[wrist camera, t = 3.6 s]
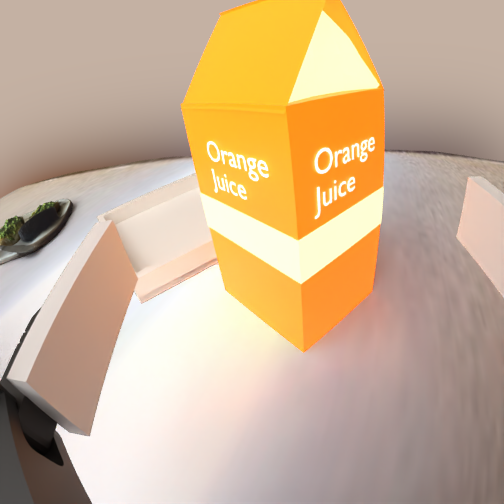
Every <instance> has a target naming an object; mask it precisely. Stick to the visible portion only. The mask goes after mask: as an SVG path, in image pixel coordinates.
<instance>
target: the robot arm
mask: <svg viewBox="0 0 504 504" xmlns="http://www.w3.org/2000/svg"><path fill="white" fill-rule="evenodd" d="M456 238H457V239H458V240H459V241H460V242H461V244H462V245H463V246H464V247H465V248H466V250H467V251H468V252H469V253H470V254H471V256H472V257H473V258H474V259H475V261H476V262H477V263H478V264H479V266H480V267H481V268H482V270H483V271H484V272H485V274H486V275H487V276H488V277H489V279H490V280H491V281H492V283H493V284H494V286H495V287H496V288H497V290H498V291H499V293H500V294H501V295H502V297H503V298H504V193H503V192H501V191H500V190H499V189H498V188H496V187H495V186H494V185H492V184H491V183H490V182H489V181H487V180H486V179H485V178H483V177H482V176H478V177H468V181H467V187H466V193H465V199H464V204H463V209H462V214H461V219H460V224H459V228H458V232H457V236H456ZM137 281H138V278H137V275H136V273H135V271H134V269H133V267H132V264H131V262H130V260H129V257H128V255H127V253H126V250H125V248H124V246H123V243H122V241H121V239H120V236H119V234H118V231H117V229H116V226H115V224H114V221H113V220H108V221H104V222H99V223H95V225H94V226H93V227H92V229H91V230H90V232H89V233H88V234H87V236H86V237H85V239H84V240H83V242H82V243H81V245H80V246H79V248H78V249H77V251H76V252H75V254H74V255H73V257H72V258H71V260H70V261H69V263H68V264H67V266H66V267H65V269H64V271H63V272H62V274H61V275H60V277H59V279H58V280H57V282H56V284H55V285H54V287H53V289H52V290H51V292H50V294H49V295H48V297H47V299H46V300H45V302H44V304H43V306H42V307H41V308H40V309H39V310H38V311H37V312H36V313H35V315H34V316H33V317H32V318H31V320H30V322H29V324H28V326H27V328H26V329H25V331H26V332H25V333H23V335H22V337H21V339H20V343H18V345H17V347H16V349H15V351H14V353H13V355H12V357H11V360H10V362H9V364H8V366H7V368H6V370H5V373H4V375H3V377H2V379H1V381H0V504H92V503H91V501H90V499H89V497H88V495H87V493H86V491H85V489H84V487H83V485H82V483H81V481H80V479H79V477H78V475H77V473H76V471H75V469H74V467H73V464H72V462H71V460H70V458H69V455H68V453H67V451H66V448H65V446H64V443H63V441H62V438H61V437H60V435H59V434H58V432H56V431H55V429H56V425H57V423H58V424H59V425H60V426H61V427H63V428H64V429H65V430H67V431H68V432H70V433H75V434H80V435H85V436H90V433H91V429H92V425H93V421H94V417H95V413H96V409H97V405H98V401H99V398H100V394H101V390H102V387H103V383H104V380H105V376H106V373H107V370H108V366H109V363H110V360H111V356H112V353H113V350H114V347H115V344H116V341H117V338H118V335H119V332H120V329H121V326H122V323H123V320H124V317H125V314H126V311H127V308H128V306H129V303H130V300H131V297H132V295H133V292H134V289H135V287H136V284H137Z"/></svg>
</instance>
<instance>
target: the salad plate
mask: <svg viewBox="0 0 504 504" xmlns="http://www.w3.org/2000/svg"><path fill="white" fill-rule="evenodd" d="M72 205H73V203H72V202H71V201H70V200H69V199H61V200H58V201H55V202H52V201H51V202H47V203H44V204H43V205H40V206H39V207H38V208H37V210H34V211H32V212H29V213H27V214H25V215H22V216H20V217H18V216H15V217H14V218H11V219H8V220H6V223H5V225H4V226H3V227H1V229H0V264H2V263H5V262H8V261H10V260H13V259H16V258H20V257H23V256H25V255H28V254H31V253H33V252H35V251H37V250H38V249H40V248H41V247H43V246H44V245H46V244H47V243H48V242H50V241H51V240H52V239H53V238H54V237H55V236H56V235H57V234H58V233H59V232H60V231H61V229H62V228H63V226H64V225H65V223H66V221H67V220H68V218H69V216H70V214H71V210H72Z"/></svg>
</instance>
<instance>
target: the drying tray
mask: <svg viewBox="0 0 504 504" xmlns="http://www.w3.org/2000/svg"><path fill="white" fill-rule="evenodd" d="M200 193H201V192H200V187H199V183H198V179H197V175H196V173H194V174H192V175H189V176H187V177H185V178H182V179H180V180H177V181H175V182H172V183H170V184H168V185H165V186H163V187H161V188H158V189H156V190H154V191H151V192H149V193H147V194H144V195H142V196H140V197H138V198H136V199H133V200H131V201H129V202H127V203H125V204H122V205H120V206H118V207H116V208H114V209H112V210H110V211H108V212H106V213H103V214H101V215H99V216H97V219H98V222H104V221H108V220H113V221H114V224H115V226H116V229H117V231H118V234H119V236H120V239H121V241H122V243H123V246H124V248H125V250H126V253H127V255H128V257H129V260H130V262H131V264H132V267H133V269H134V271H135V273H136V275H137V278H138V281H137V284H136V287H135V289H134V292H135V294H136V296H137V297H138V299H139V301H140V302H141V304H142V303H143V302H145V301H147V300H149V299H151V298H153V297H155V296H156V295H158V294H160V293H162V292H164V291H166V290H167V289H169V288H171V287H173V286H175V285H177V284H179V283H180V282H182V281H184V280H186V279H188V278H190V277H192V276H194V275H195V274H197V273H199V272H201V271H203V270H205V269H207V268H208V267H210V266H212V265H214V264H216V263H218V260H217V256H216V252H215V248H214V244H213V240H212V236H211V232H210V228H209V226H208V223H207V219H206V215H205V211H204V207H203V203H202V199H201V195H200Z"/></svg>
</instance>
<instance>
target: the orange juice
mask: <svg viewBox="0 0 504 504" xmlns="http://www.w3.org/2000/svg"><path fill="white" fill-rule="evenodd" d="M220 15H221V17H220V18H219V20H218V23H217V25H216V27H215V29H214V31H213V33H212V35H211V38H210V40H209V42H208V44H207V46H206V49H205V51H204V53H203V56H202V58H201V60H200V63H199V65H198V67H197V69H196V72H195V74H194V77H193V79H192V82H191V84H190V87H189V89H188V92H187V94H186V97H185V99H184V102H183V103H182V104H181V109H182V112H183V117H184V122H185V126H186V130H187V135H188V140H189V144H190V149H191V153H192V157H193V162H194V166H195V170H196V175H197V179H198V183H199V187H200V192H201V193H200V195H201V199H202V203H203V207H204V211H205V215H206V219H207V223H208V226H209V228H210V232H211V236H212V240H213V244H214V248H215V252H216V256H217V260H218V263H219V267H220V271H221V275H222V279H223V282H224V286H225V290H226V291H227V292H228V293H230V294H231V295H232V296H233V297H235V298H236V299H237V300H238V301H239V302H241V303H242V304H243V305H244V306H246V307H247V308H248V309H249V310H250V311H252V312H253V313H254V314H255V315H257V316H258V317H259V318H260V319H262V320H263V321H264V322H265V323H267V324H268V325H269V326H270V327H272V328H273V329H274V330H275V331H277V332H278V333H279V334H280V335H282V336H283V337H284V338H285V339H287V340H288V341H289V342H291V343H292V344H293V345H294V346H296V347H297V348H298V349H300V350H301V351H302V352H303V353H304V352H305V351H306V350H308V349H309V348H310V347H311V346H312V345H314V344H315V343H316V342H317V341H318V340H319V339H321V338H322V337H323V336H324V335H325V334H326V333H327V332H329V331H330V330H331V329H332V328H333V327H334V326H335V325H336V324H338V323H339V322H340V321H341V320H342V319H343V318H344V317H345V316H346V315H348V314H349V313H350V312H351V311H352V310H353V309H354V308H355V307H356V306H357V305H358V304H359V303H360V302H361V301H363V300H364V299H365V298H366V297H367V296H368V295H369V294H370V293H371V292H372V289H373V282H374V275H375V267H376V259H377V251H378V242H379V232H380V224H381V219H382V207H383V192H384V187H383V174H384V92H383V91H384V89H383V87H382V84H381V82H380V79H379V77H378V74H377V73H376V70H375V68H374V65H373V63H372V61H371V59H370V57H369V54H368V52H367V50H366V48H365V46H364V44H363V42H362V40H361V38H360V36H359V34H358V32H357V30H356V28H355V26H354V24H353V22H352V20H351V19H350V17H349V15H348V13H347V11H346V9H345V8H344V6H343V4H342V3H341V1H340V0H257V1H254V2H251V3H248V4H245V5H242V6H239V7H236V8H233V9H230V10H228V11H225V12H222V13H220Z"/></svg>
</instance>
